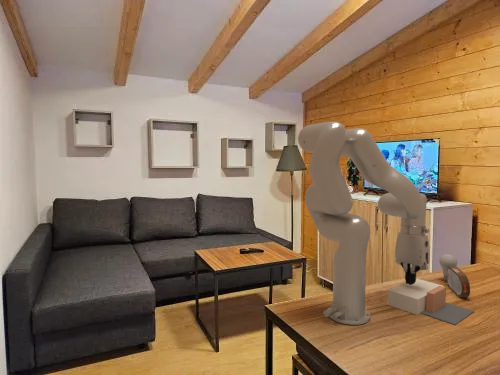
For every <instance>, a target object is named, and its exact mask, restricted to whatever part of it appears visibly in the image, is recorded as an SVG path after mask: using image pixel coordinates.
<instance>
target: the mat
mask: <svg viewBox="0 0 500 375" xmlns="http://www.w3.org/2000/svg"><path fill="white" fill-rule="evenodd" d="M474 312H475V310H471V309H469V308H466V307H461V306H459V305H455V304H452V303H449V302H447V301H445V306H443V307H442V308H440V309H438V310H437V311H435V312H433V313H432V312H429V311H426V310H424V311H422V312H421V313H420V314H422V315H425V316H428V317H430V318H433V319H436V320H440V321H442V322H445V323H447V324H451V325H453V326H456V325H457V324H458V325H459V323H461V322H462V321H464V320H465V319H466V318H468V317H469V316H471V315H472V314H474Z"/></svg>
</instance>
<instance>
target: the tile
mask: <svg viewBox="0 0 500 375" xmlns="http://www.w3.org/2000/svg"><path fill="white" fill-rule="evenodd" d="M443 286H444V285H442V286H438V287H436V288H434V289H432V290H430V291H428V292H427V303H426V311H429V312H432V313H433V312H435V311H437V310H438V309H440V308H442V307H443V306H445V302H447V300H446V297H447V295H446V294H447V287H446V286H444V287H443Z"/></svg>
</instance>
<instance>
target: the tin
mask: <svg viewBox="0 0 500 375" xmlns="http://www.w3.org/2000/svg"><path fill="white" fill-rule="evenodd" d="M447 281H448V282H447ZM447 281H446V282H447V285H448V286H449V289H451V291H453V293H454V294H456V296H457V297H459V298H467V299H468V298H469V297H470V295H471V285H470V280H469V278H468V275H467V274H466V273H465V272H464V271H463V270H462V269H460V268H459V267H458V266H456V267H449V268H448V269H447Z"/></svg>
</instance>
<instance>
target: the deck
mask: <svg viewBox="0 0 500 375" xmlns="http://www.w3.org/2000/svg"><path fill="white" fill-rule="evenodd" d="M438 286H443V287H445V285H441V284H439V283H435V282H431V281H428V280H423V279H419V278H416V282H415V283H414V284H412V285H409V284H406V281H404V282H403V283H401V284H398V285H396V286H394V287H392V288H388V289H387V305H388V306H391V307H393V308H396V309H399V310H402V311H405V312H407V313H410V314H413V315H416V316H418V315H420V314H421V312H422V311H424V310H426V303H427V292H428V291H430V290H432V289H434V288H436V287H438Z"/></svg>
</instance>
